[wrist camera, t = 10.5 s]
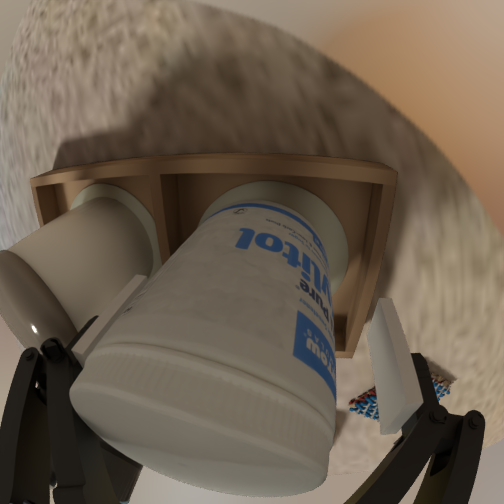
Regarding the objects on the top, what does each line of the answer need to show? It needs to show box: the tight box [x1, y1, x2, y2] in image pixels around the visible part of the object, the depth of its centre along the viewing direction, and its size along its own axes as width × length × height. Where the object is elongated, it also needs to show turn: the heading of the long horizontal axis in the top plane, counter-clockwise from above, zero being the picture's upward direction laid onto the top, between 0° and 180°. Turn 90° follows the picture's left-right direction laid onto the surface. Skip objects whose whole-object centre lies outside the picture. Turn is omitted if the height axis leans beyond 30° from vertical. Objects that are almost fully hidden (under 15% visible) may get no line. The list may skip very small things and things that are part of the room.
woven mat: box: [349, 372, 451, 422], centre depth 25 cm, size 10×11×2 cm
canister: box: [0, 197, 154, 354], centre depth 17 cm, size 9×9×11 cm
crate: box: [30, 153, 398, 358], centre depth 20 cm, size 28×15×3 cm, turn 91°
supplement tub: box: [69, 200, 336, 497], centre depth 13 cm, size 10×10×15 cm
